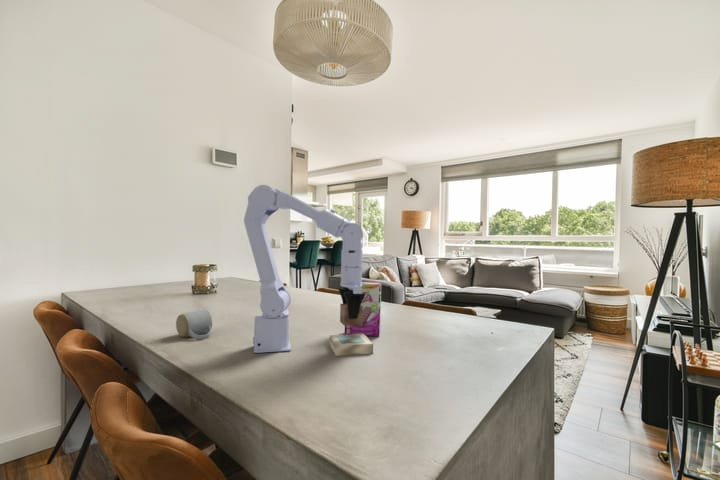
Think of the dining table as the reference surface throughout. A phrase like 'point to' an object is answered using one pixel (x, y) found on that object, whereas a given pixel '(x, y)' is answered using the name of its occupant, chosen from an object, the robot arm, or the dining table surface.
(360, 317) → the walnut cube
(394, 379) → the dining table surface
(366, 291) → the candy bar box
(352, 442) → the dining table surface
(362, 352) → the base
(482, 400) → the dining table surface
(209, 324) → the ceramic mug
